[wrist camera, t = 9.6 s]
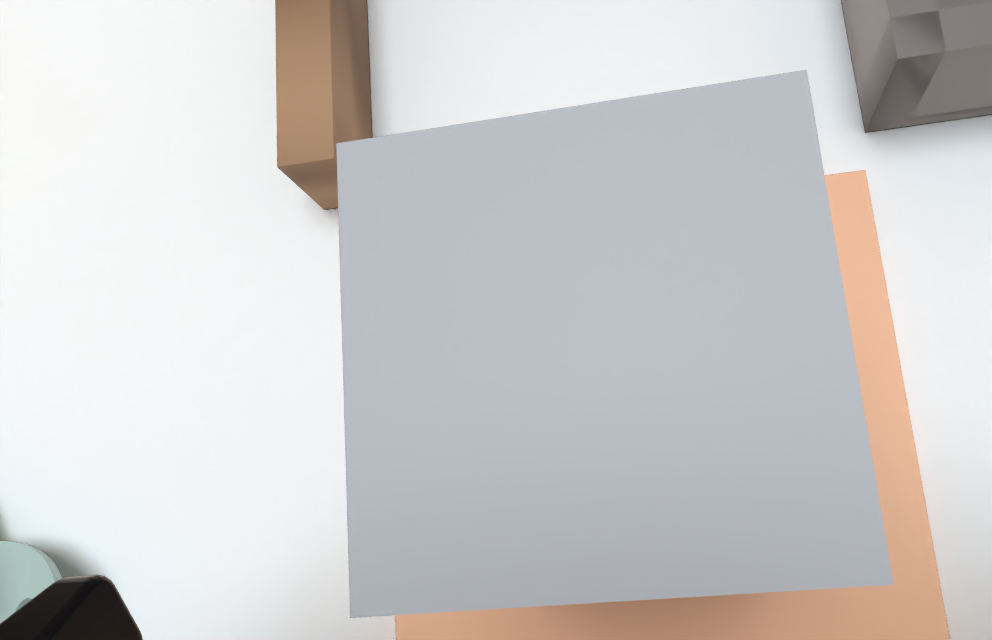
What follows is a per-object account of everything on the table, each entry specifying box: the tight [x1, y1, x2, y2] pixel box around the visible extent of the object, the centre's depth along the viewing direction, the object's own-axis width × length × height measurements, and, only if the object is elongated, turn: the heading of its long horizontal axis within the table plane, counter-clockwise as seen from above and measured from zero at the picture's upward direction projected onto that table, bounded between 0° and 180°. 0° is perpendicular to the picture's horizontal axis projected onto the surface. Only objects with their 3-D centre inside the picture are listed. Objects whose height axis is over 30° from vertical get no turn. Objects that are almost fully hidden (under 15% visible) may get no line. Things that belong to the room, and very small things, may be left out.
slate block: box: [336, 70, 894, 618], centre depth 13 cm, size 4×4×10 cm
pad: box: [395, 170, 950, 640], centre depth 18 cm, size 10×10×1 cm
